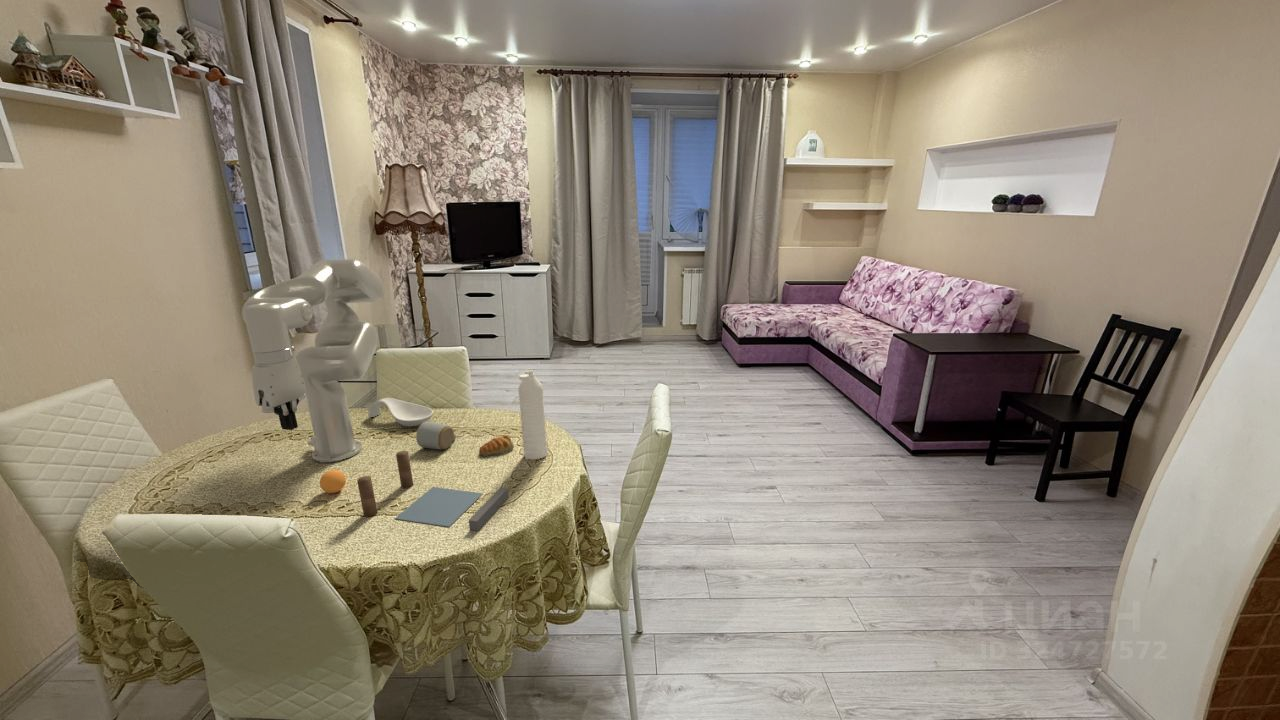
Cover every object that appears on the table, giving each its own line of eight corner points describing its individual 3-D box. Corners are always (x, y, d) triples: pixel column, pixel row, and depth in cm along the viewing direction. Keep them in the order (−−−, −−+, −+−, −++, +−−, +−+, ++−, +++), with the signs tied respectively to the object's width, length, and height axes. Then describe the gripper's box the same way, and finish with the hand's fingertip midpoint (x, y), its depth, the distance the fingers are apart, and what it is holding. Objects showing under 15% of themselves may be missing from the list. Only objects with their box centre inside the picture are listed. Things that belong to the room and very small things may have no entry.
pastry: (485, 460, 146) (484, 448, 145) (475, 452, 151) (473, 440, 150) (516, 450, 152) (515, 437, 151) (505, 442, 157) (504, 431, 156)
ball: (316, 496, 129) (312, 475, 128) (334, 484, 134) (330, 464, 133) (335, 498, 128) (331, 478, 126) (352, 487, 133) (348, 467, 131)
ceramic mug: (441, 454, 150) (438, 429, 147) (417, 451, 152) (413, 426, 150) (463, 439, 159) (460, 415, 157) (440, 436, 161) (437, 413, 159)
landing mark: (395, 519, 119) (394, 518, 119) (432, 487, 132) (432, 486, 132) (449, 527, 116) (449, 526, 116) (482, 494, 129) (482, 493, 129)
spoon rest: (442, 419, 175) (439, 399, 173) (416, 433, 164) (413, 412, 162) (386, 410, 183) (383, 391, 181) (358, 424, 172) (355, 403, 170)
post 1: (361, 516, 120) (354, 481, 118) (369, 509, 123) (363, 475, 120) (371, 518, 120) (364, 482, 117) (380, 511, 122) (373, 476, 120)
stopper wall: (469, 530, 114) (468, 520, 114) (501, 496, 127) (500, 487, 127) (478, 531, 114) (476, 521, 113) (508, 497, 127) (507, 488, 126)
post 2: (398, 487, 132) (393, 455, 130) (406, 482, 135) (401, 450, 132) (408, 489, 132) (403, 456, 129) (415, 483, 134) (410, 451, 132)
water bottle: (528, 449, 152) (521, 366, 144) (550, 450, 151) (544, 367, 144) (518, 463, 143) (510, 376, 136) (541, 464, 143) (534, 377, 135)
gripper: (288, 347, 131) (303, 415, 136) (230, 364, 117) (249, 439, 122) (313, 348, 129) (327, 418, 134) (257, 366, 115) (275, 442, 121)
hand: (290, 428), depth 128 cm, fingers closed
